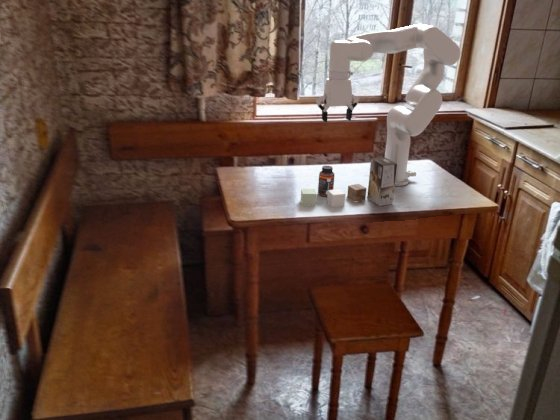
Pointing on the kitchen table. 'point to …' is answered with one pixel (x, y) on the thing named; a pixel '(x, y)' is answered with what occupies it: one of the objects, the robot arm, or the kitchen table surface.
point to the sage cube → (308, 197)
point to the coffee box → (382, 181)
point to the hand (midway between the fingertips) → (336, 120)
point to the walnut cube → (356, 192)
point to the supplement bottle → (325, 180)
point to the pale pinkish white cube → (336, 198)
